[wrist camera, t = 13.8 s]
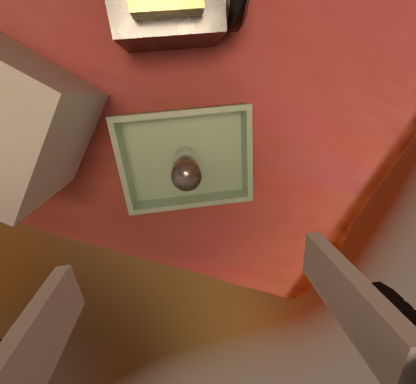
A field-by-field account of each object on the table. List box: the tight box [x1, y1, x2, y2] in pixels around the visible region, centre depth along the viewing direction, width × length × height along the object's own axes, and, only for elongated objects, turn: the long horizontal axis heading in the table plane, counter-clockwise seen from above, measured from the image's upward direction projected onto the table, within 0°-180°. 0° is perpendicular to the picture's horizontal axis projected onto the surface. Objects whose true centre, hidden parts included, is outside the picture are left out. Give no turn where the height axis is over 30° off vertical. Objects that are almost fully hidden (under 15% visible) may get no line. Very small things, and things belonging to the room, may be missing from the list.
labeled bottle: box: [171, 146, 201, 191], centre depth 33 cm, size 4×4×10 cm
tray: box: [106, 103, 253, 216], centre depth 36 cm, size 20×15×4 cm
